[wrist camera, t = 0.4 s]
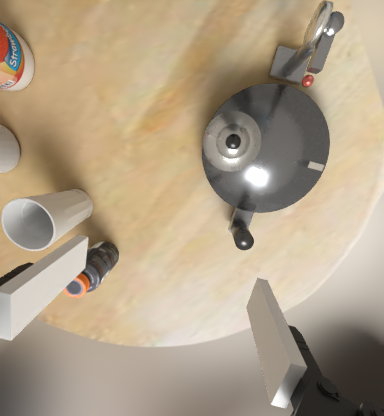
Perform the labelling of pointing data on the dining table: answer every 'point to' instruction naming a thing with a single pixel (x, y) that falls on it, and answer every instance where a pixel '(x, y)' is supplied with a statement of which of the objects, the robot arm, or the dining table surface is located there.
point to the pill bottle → (93, 269)
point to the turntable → (272, 155)
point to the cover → (232, 141)
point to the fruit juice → (14, 61)
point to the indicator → (308, 48)
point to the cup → (44, 217)
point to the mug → (8, 150)
